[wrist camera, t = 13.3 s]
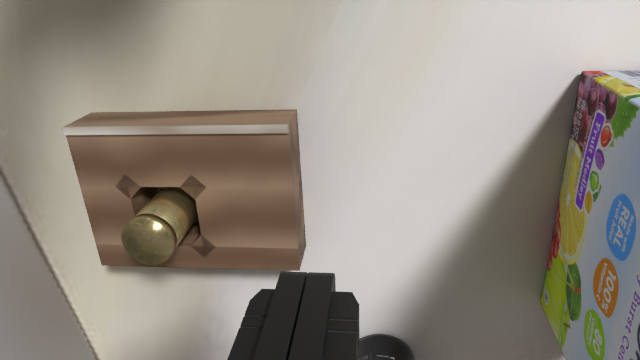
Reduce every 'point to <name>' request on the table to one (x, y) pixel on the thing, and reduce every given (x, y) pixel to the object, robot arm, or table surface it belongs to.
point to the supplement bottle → (384, 348)
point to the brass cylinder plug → (159, 226)
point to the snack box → (598, 225)
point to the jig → (196, 183)
